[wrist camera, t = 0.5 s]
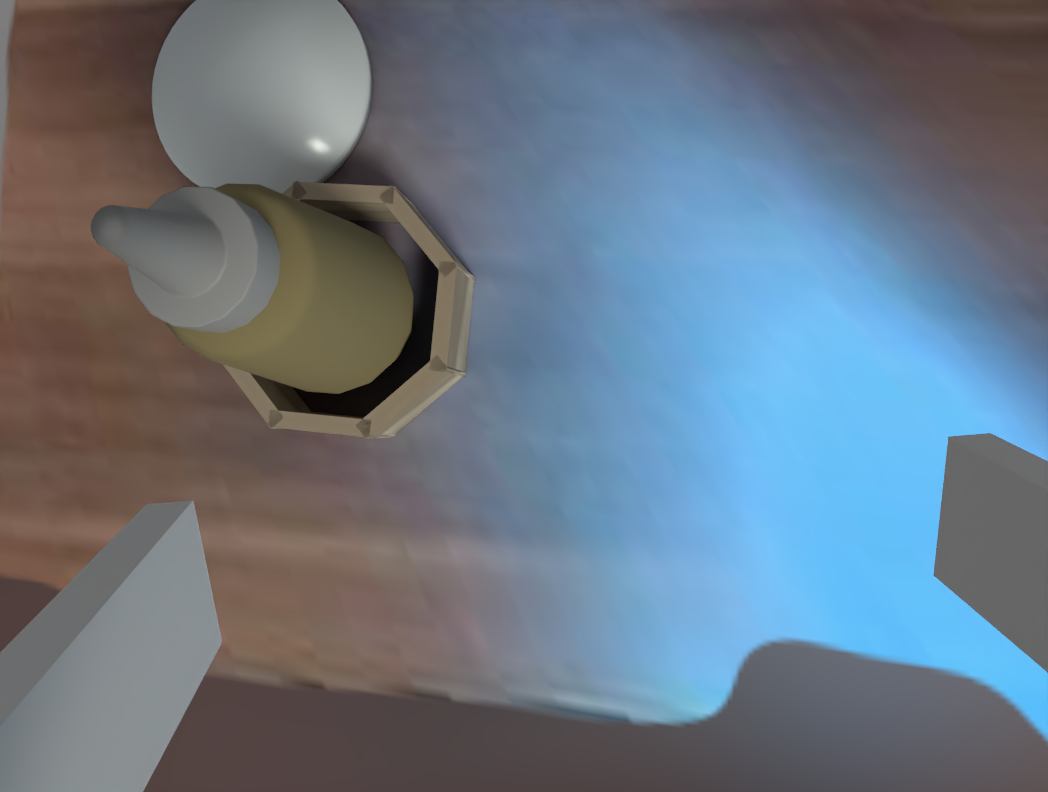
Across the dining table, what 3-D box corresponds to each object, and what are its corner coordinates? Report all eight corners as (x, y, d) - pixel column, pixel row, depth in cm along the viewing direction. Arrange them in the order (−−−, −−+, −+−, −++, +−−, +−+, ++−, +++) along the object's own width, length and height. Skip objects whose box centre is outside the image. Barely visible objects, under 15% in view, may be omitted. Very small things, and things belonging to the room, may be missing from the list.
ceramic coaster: (173, -20, 40) (164, -28, 40) (384, -19, 38) (378, -29, 38) (150, 199, 40) (140, 195, 39) (361, 211, 38) (355, 206, 37)
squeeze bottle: (411, 415, 37) (201, 408, 20) (267, 373, 39) (-51, 332, 21) (454, 260, 37) (282, 112, 20) (308, 223, 39) (24, 54, 21)
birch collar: (264, 198, 39) (228, 177, 36) (482, 210, 37) (465, 188, 34) (241, 421, 39) (202, 421, 35) (459, 444, 37) (440, 446, 34)
